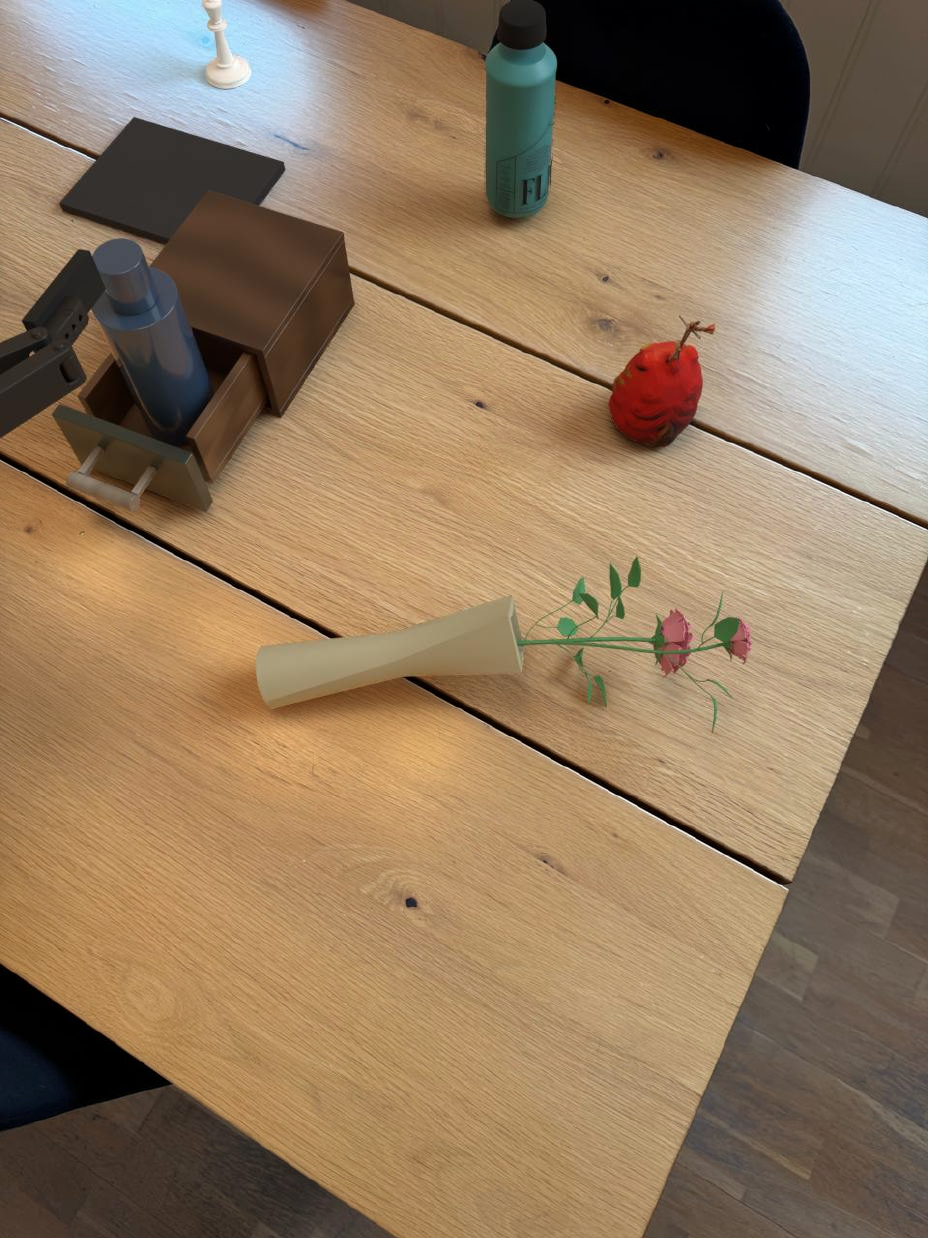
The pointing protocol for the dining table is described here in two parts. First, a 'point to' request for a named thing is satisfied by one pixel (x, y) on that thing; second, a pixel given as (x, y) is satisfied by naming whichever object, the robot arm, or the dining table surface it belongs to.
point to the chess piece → (223, 53)
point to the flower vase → (469, 648)
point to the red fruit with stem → (659, 390)
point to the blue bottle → (151, 341)
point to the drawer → (135, 456)
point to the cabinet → (261, 286)
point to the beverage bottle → (519, 111)
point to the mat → (165, 179)
